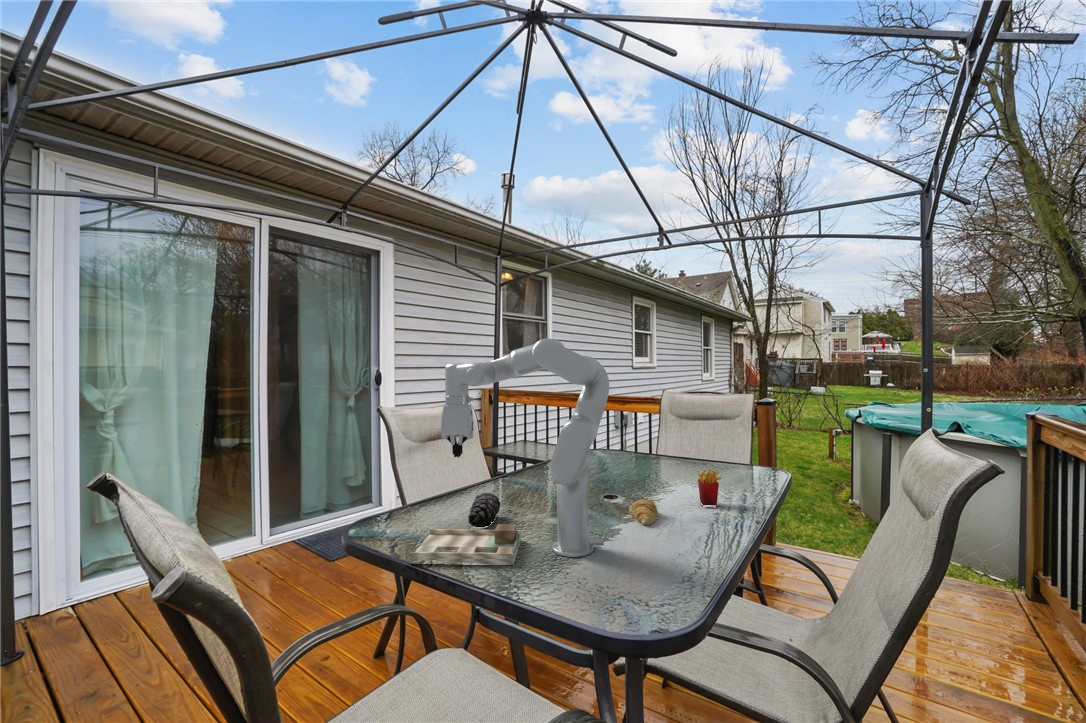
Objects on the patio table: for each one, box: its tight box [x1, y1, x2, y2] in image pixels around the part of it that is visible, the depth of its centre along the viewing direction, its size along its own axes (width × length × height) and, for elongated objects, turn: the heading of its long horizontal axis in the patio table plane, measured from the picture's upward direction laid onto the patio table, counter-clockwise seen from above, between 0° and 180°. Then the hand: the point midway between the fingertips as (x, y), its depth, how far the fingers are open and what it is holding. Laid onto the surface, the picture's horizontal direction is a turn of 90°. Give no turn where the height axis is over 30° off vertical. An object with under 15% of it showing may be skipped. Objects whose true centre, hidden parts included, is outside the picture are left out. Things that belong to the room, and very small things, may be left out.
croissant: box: [628, 498, 659, 526], centre depth 178 cm, size 21×10×8 cm, turn 173°
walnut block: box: [494, 523, 517, 544], centre depth 152 cm, size 6×6×4 cm
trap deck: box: [409, 528, 522, 566], centre depth 148 cm, size 30×19×4 cm, turn 86°
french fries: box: [697, 468, 722, 506], centre depth 189 cm, size 9×8×15 cm
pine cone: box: [467, 492, 501, 527], centre depth 174 cm, size 10×18×10 cm, turn 177°
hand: (457, 456), depth 159 cm, fingers closed
